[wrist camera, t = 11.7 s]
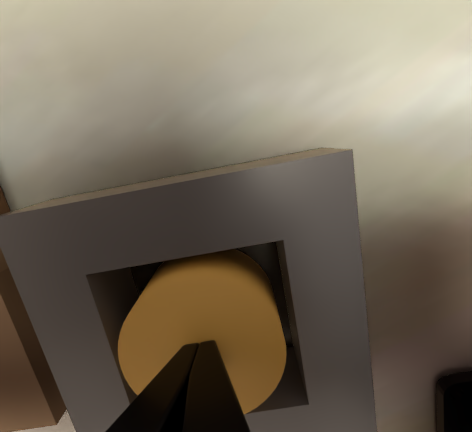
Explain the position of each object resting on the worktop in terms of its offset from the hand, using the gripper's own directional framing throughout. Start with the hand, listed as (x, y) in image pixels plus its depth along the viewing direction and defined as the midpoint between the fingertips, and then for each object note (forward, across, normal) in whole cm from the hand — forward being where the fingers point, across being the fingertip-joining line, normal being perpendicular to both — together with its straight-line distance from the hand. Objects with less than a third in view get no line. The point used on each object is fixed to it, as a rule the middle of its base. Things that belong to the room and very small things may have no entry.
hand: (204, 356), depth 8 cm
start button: (+2, 0, 0) cm, 2 cm away
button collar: (+3, 0, 0) cm, 3 cm away
